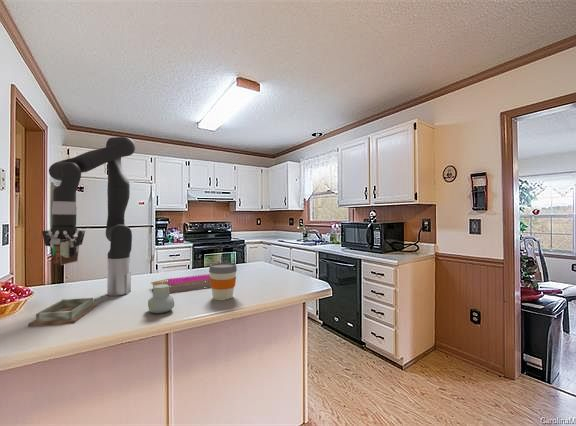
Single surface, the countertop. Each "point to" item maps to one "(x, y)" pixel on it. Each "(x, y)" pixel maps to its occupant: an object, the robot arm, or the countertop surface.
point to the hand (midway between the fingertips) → (63, 256)
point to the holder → (64, 312)
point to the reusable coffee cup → (222, 280)
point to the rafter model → (183, 281)
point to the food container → (62, 251)
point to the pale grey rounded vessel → (160, 299)
